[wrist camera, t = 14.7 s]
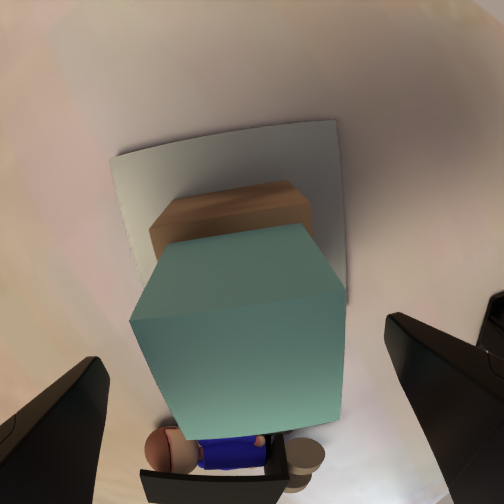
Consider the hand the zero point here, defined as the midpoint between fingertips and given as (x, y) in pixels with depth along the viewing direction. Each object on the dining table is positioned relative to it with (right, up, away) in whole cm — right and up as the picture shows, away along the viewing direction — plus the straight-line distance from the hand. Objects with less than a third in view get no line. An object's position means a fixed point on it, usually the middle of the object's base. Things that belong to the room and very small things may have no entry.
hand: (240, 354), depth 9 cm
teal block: (0, +1, +4) cm, 4 cm away
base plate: (0, +4, +9) cm, 10 cm away
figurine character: (-2, -14, +17) cm, 22 cm away
